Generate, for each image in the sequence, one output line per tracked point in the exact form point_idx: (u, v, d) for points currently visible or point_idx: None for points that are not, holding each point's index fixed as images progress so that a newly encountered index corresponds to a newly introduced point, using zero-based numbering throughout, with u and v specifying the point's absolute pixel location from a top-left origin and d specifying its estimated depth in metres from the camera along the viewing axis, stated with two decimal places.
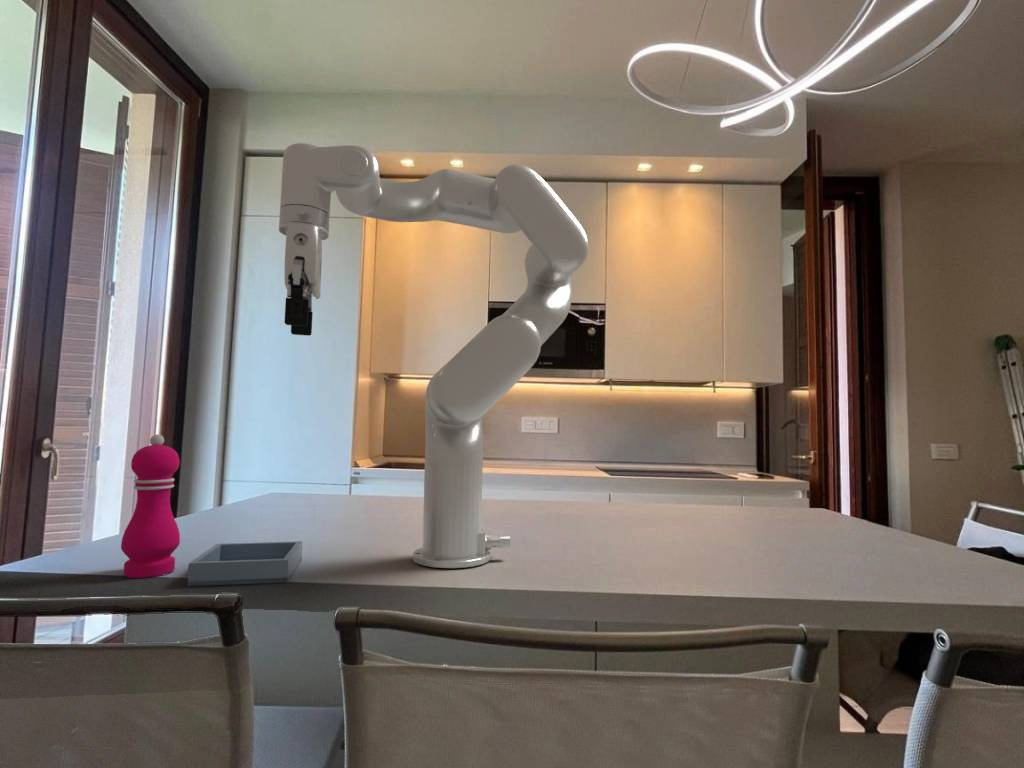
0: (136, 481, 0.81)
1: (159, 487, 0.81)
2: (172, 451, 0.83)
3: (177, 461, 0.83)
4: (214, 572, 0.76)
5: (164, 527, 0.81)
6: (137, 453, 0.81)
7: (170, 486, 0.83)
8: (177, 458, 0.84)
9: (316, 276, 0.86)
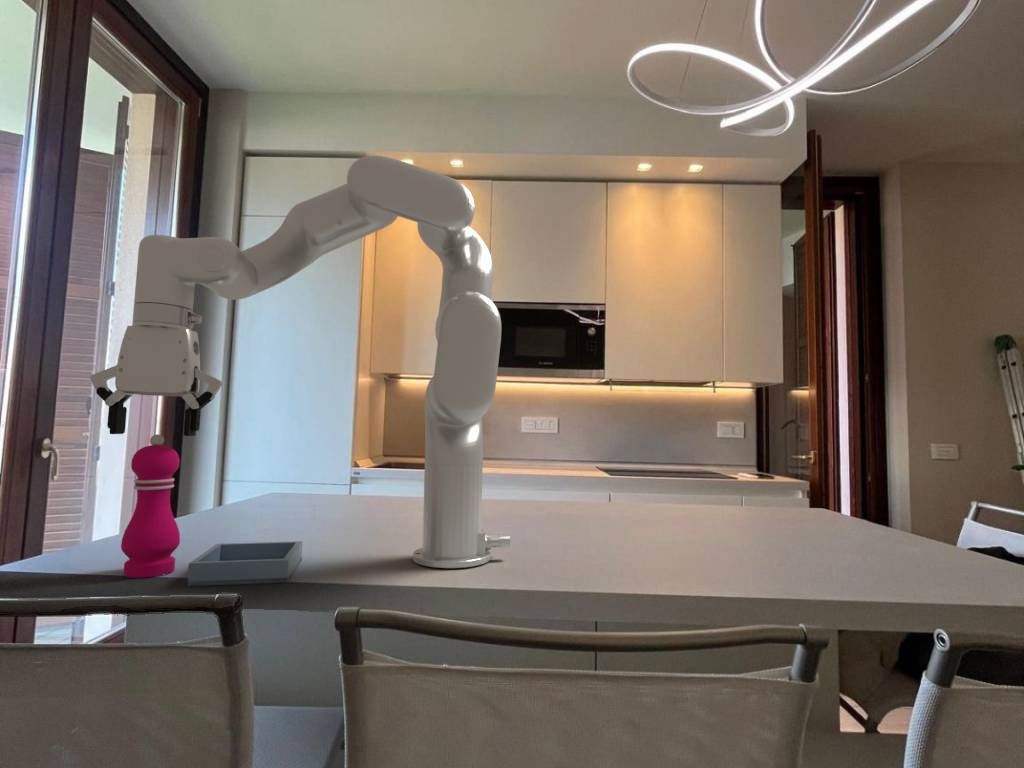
0: (136, 481, 0.81)
1: (159, 487, 0.81)
2: (172, 451, 0.83)
3: (177, 461, 0.83)
4: (214, 572, 0.76)
5: (164, 527, 0.81)
6: (137, 453, 0.81)
7: (170, 486, 0.83)
8: (177, 458, 0.84)
9: None
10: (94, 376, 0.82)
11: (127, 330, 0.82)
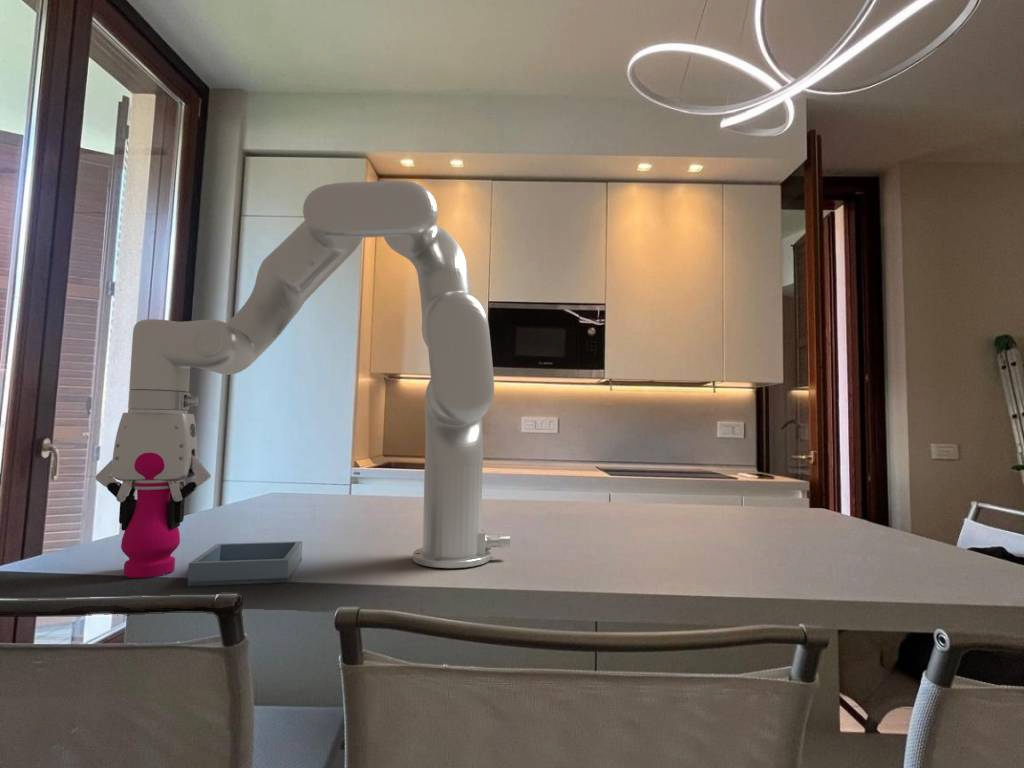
0: (136, 481, 0.81)
1: (159, 487, 0.81)
2: None
3: None
4: (214, 572, 0.76)
5: (164, 527, 0.81)
6: None
7: None
8: None
9: None
10: (99, 476, 0.81)
11: (123, 417, 0.81)
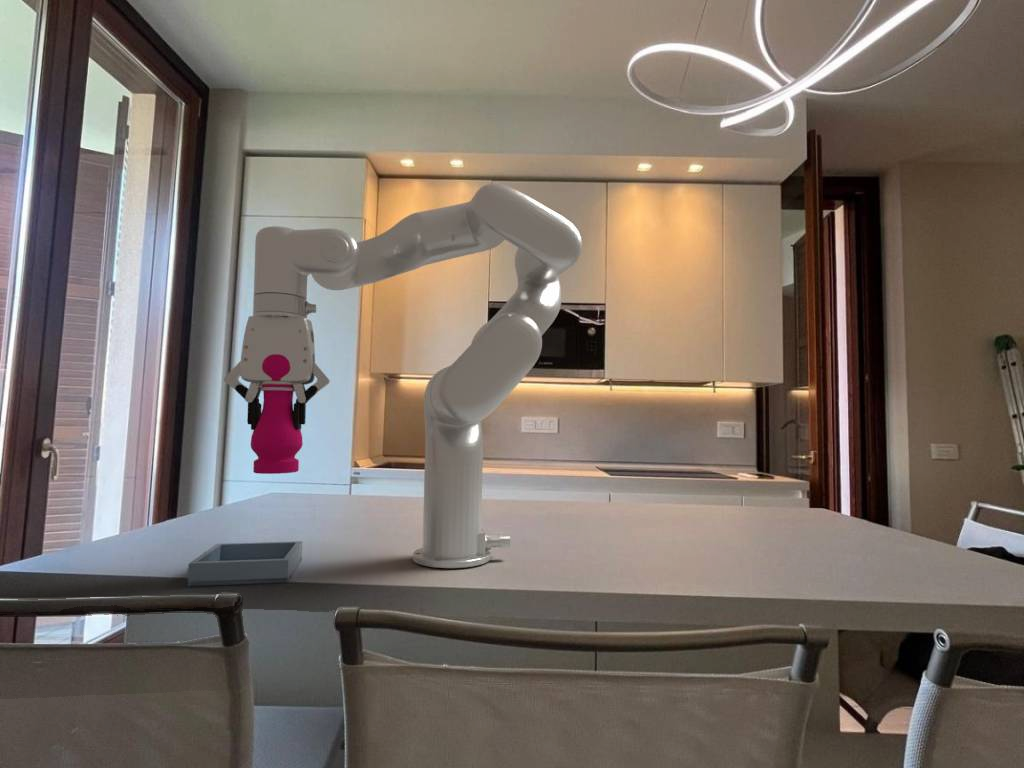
0: (264, 382, 0.83)
1: (285, 388, 0.84)
2: None
3: None
4: (214, 572, 0.76)
5: (291, 426, 0.84)
6: None
7: None
8: None
9: (313, 373, 0.89)
10: (227, 378, 0.83)
11: (249, 320, 0.83)
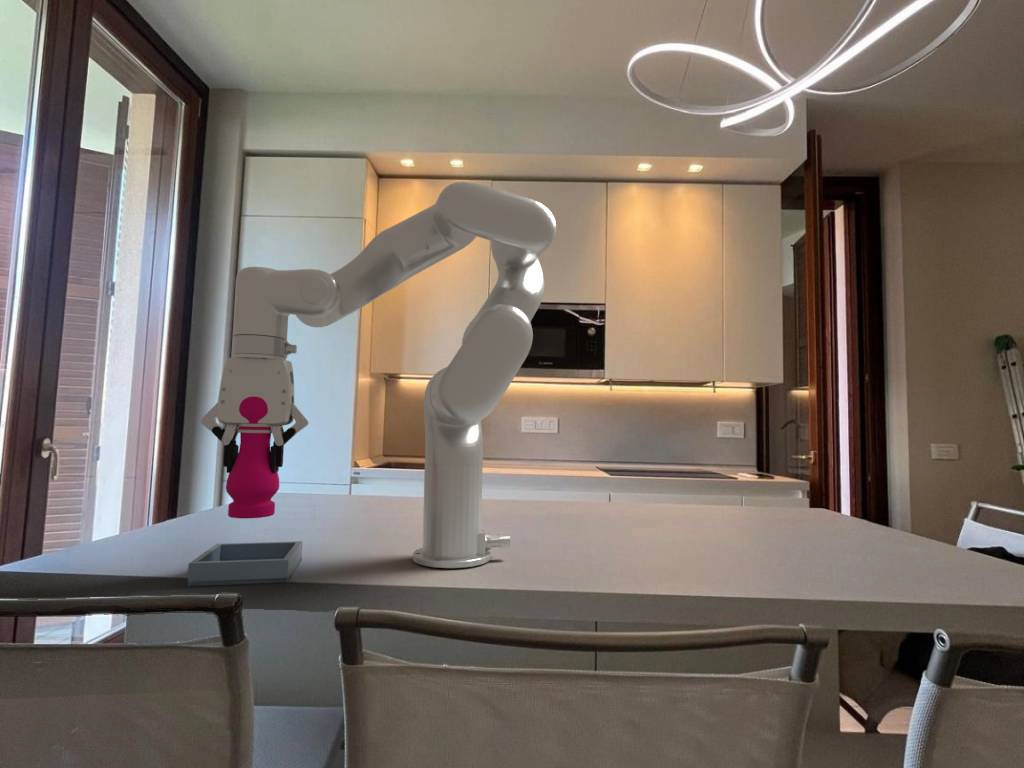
0: (240, 424, 0.82)
1: (263, 431, 0.83)
2: None
3: None
4: (214, 572, 0.76)
5: (267, 470, 0.82)
6: None
7: (271, 431, 0.84)
8: None
9: None
10: (203, 419, 0.82)
11: (227, 362, 0.82)
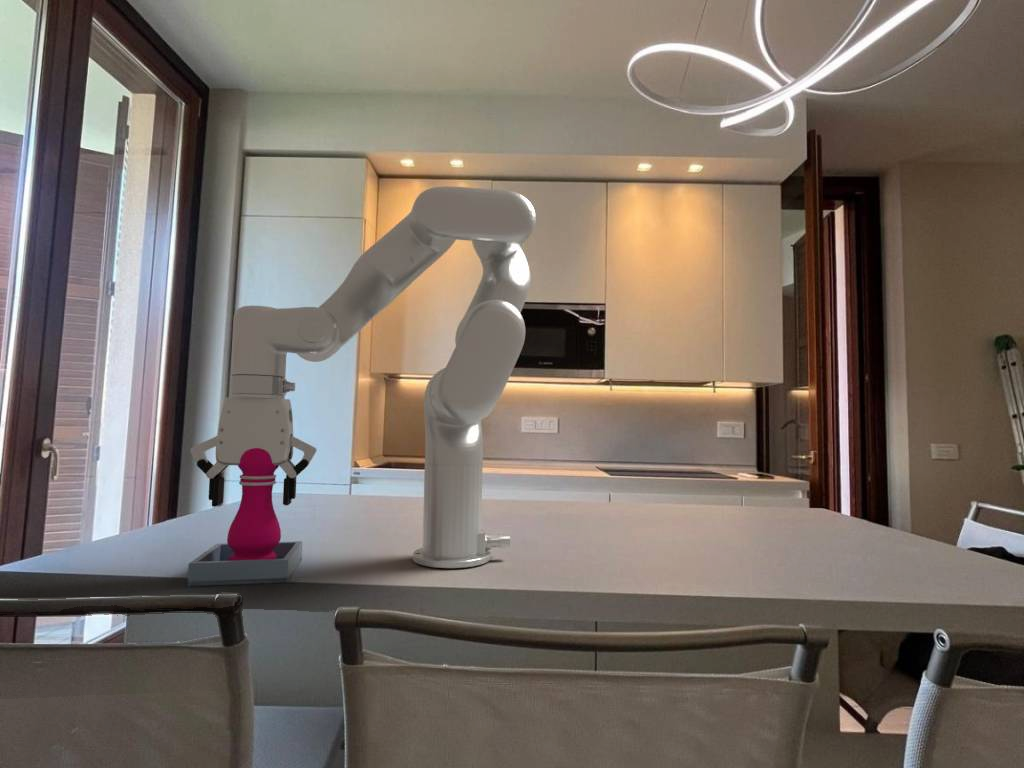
0: (242, 477, 0.82)
1: (264, 483, 0.82)
2: None
3: None
4: (214, 572, 0.76)
5: (268, 523, 0.82)
6: None
7: (273, 482, 0.84)
8: None
9: None
10: (194, 448, 0.82)
11: (226, 402, 0.82)
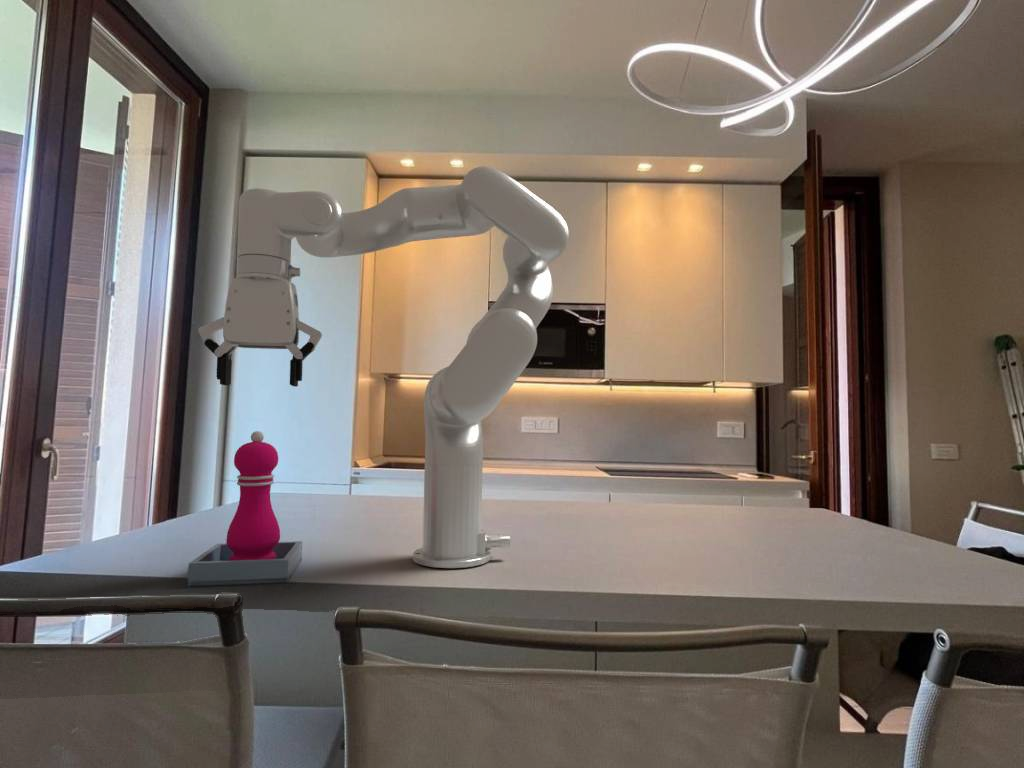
0: (239, 477, 0.82)
1: (262, 483, 0.82)
2: (272, 448, 0.84)
3: (277, 457, 0.84)
4: (214, 572, 0.76)
5: (267, 523, 0.82)
6: (240, 450, 0.82)
7: (271, 482, 0.83)
8: (277, 454, 0.84)
9: (297, 337, 0.89)
10: (201, 328, 0.83)
11: (232, 282, 0.83)
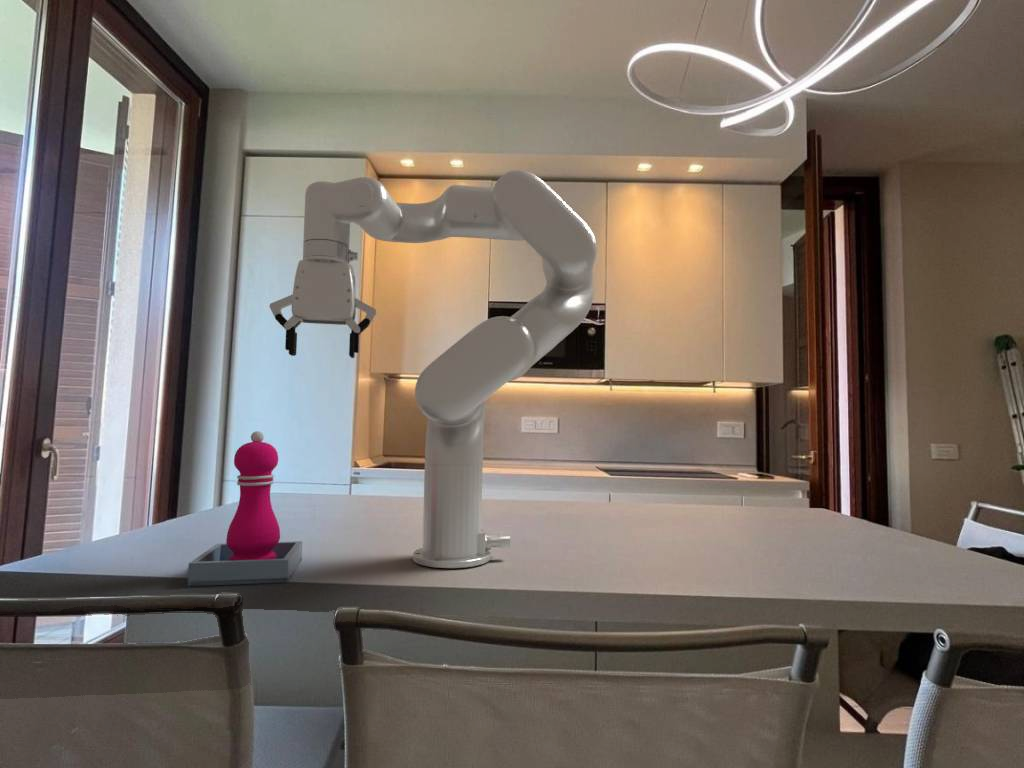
0: (239, 477, 0.82)
1: (261, 483, 0.82)
2: (272, 447, 0.84)
3: (277, 457, 0.84)
4: (214, 572, 0.76)
5: (267, 522, 0.82)
6: (240, 450, 0.82)
7: (271, 482, 0.84)
8: (276, 454, 0.85)
9: (353, 315, 1.00)
10: (272, 304, 0.94)
11: (300, 264, 0.94)
